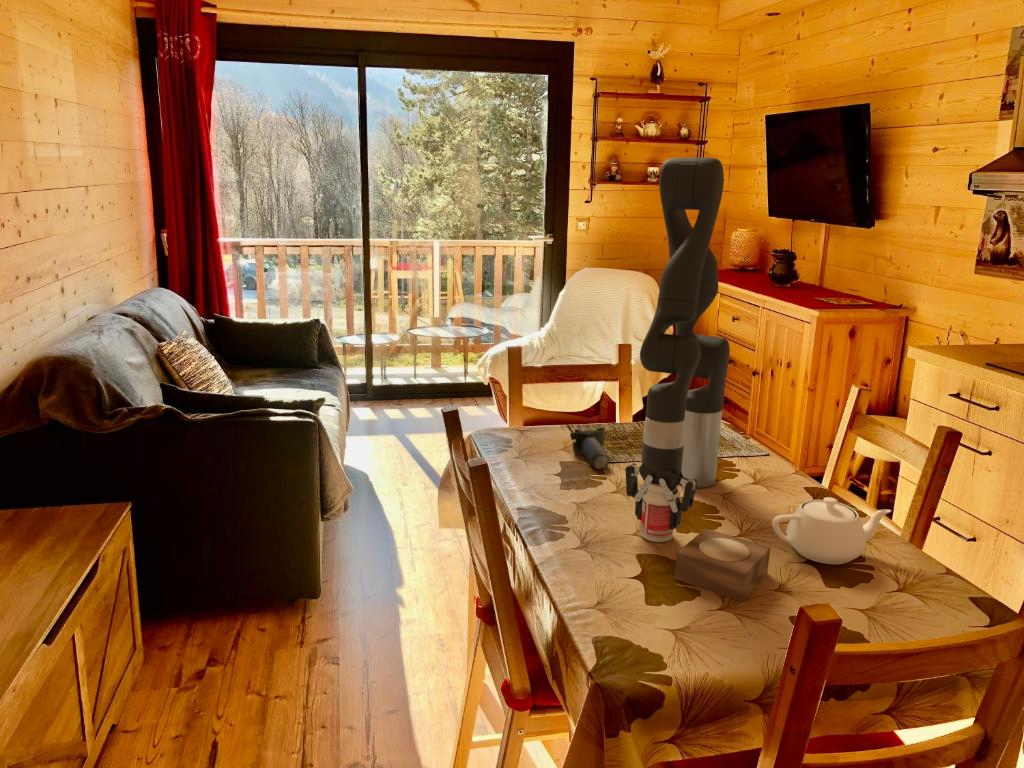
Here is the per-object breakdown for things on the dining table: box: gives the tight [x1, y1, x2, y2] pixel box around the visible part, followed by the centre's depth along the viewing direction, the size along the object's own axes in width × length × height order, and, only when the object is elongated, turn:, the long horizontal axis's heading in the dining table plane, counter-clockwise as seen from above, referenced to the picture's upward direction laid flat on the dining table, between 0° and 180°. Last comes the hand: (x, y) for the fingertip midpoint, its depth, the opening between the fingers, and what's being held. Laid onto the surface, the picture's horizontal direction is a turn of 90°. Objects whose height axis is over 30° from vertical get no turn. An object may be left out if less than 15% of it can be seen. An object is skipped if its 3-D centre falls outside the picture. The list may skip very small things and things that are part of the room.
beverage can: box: [569, 427, 611, 470], centre depth 192 cm, size 9×8×12 cm
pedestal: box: [674, 528, 771, 602], centre depth 139 cm, size 12×12×5 cm
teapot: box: [772, 496, 892, 565], centre depth 148 cm, size 22×14×11 cm, turn 94°
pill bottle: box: [639, 483, 674, 543], centre depth 153 cm, size 6×6×11 cm
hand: (656, 523), depth 154 cm, fingers closed on pill bottle, 6 cm apart
